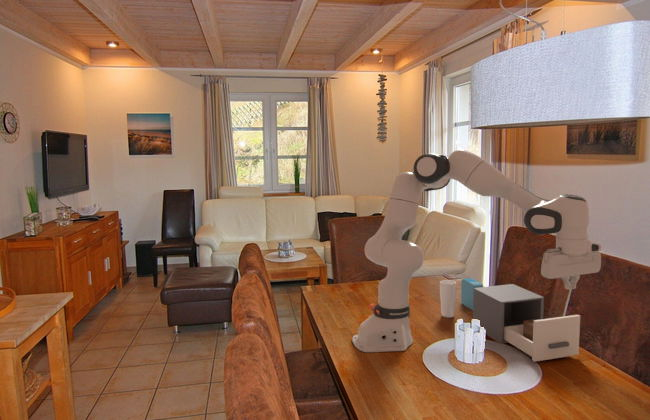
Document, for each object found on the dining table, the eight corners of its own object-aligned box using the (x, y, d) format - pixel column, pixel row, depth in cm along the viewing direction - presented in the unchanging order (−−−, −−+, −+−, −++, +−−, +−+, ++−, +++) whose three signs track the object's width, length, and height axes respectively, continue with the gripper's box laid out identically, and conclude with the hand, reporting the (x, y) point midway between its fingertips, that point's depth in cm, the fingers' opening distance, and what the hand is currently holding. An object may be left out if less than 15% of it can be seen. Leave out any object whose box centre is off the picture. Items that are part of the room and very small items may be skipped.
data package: (483, 311, 200) (483, 284, 198) (473, 311, 199) (474, 285, 197) (469, 302, 211) (470, 277, 210) (460, 303, 211) (461, 278, 209)
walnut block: (542, 350, 154) (543, 331, 154) (522, 339, 164) (523, 320, 163) (552, 349, 155) (553, 329, 154) (532, 338, 165) (533, 319, 164)
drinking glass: (457, 314, 196) (457, 280, 194) (454, 319, 190) (454, 285, 188) (441, 312, 199) (441, 279, 197) (438, 317, 193) (438, 283, 191)
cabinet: (500, 343, 166) (501, 302, 164) (472, 325, 183) (473, 288, 181) (542, 337, 170) (544, 297, 168) (511, 320, 187) (512, 283, 185)
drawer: (537, 363, 148) (538, 323, 146) (500, 340, 166) (501, 304, 164) (581, 356, 152) (583, 317, 150) (540, 334, 170) (542, 299, 168)
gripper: (551, 251, 137) (550, 295, 139) (605, 245, 143) (603, 287, 144) (536, 247, 143) (535, 289, 145) (589, 241, 149) (587, 282, 150)
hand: (570, 288), depth 145 cm, fingers closed
